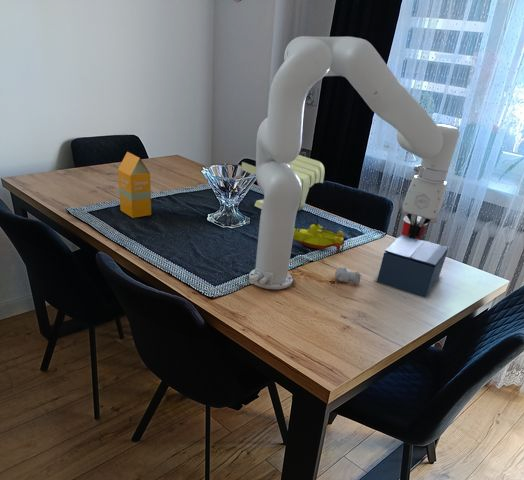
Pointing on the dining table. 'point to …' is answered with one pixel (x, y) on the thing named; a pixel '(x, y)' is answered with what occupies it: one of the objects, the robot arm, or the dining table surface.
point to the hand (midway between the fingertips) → (412, 237)
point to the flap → (404, 246)
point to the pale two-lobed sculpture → (347, 275)
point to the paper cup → (407, 227)
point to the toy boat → (319, 237)
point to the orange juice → (134, 187)
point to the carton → (413, 269)
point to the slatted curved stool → (304, 169)
